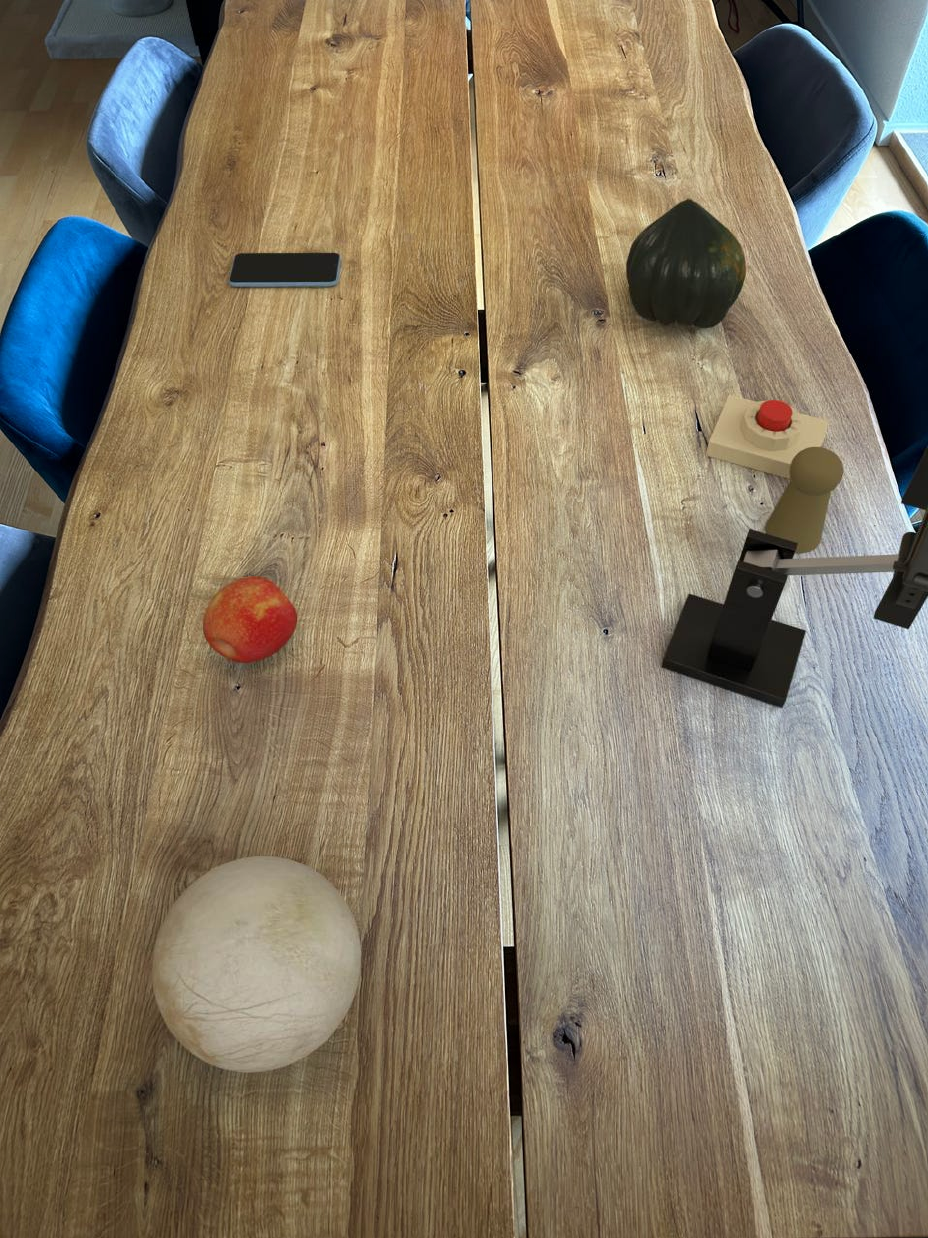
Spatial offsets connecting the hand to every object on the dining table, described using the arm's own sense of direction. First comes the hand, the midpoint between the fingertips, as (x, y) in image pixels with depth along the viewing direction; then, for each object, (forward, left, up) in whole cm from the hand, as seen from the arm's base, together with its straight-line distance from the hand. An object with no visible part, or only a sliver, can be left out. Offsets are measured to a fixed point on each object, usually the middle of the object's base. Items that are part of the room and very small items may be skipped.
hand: (905, 560), depth 83 cm
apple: (+54, +18, -19) cm, 60 cm away
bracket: (+10, 0, -19) cm, 22 cm away
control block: (+14, -31, -19) cm, 39 cm away
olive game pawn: (+8, -19, -19) cm, 28 cm away
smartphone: (+83, -39, -19) cm, 94 cm away
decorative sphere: (+35, +47, -19) cm, 62 cm away
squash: (+31, -52, -19) cm, 64 cm away
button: (+14, -31, -15) cm, 37 cm away
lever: (+5, 0, -4) cm, 6 cm away
